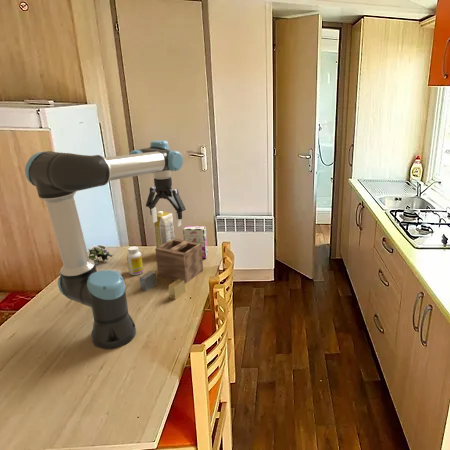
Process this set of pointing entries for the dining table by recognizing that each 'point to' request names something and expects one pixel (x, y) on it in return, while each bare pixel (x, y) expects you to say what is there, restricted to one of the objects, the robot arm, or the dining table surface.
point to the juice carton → (163, 228)
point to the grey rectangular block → (148, 280)
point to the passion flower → (98, 254)
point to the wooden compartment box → (179, 259)
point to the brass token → (176, 289)
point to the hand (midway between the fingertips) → (166, 224)
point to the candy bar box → (197, 237)
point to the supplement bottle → (134, 261)
